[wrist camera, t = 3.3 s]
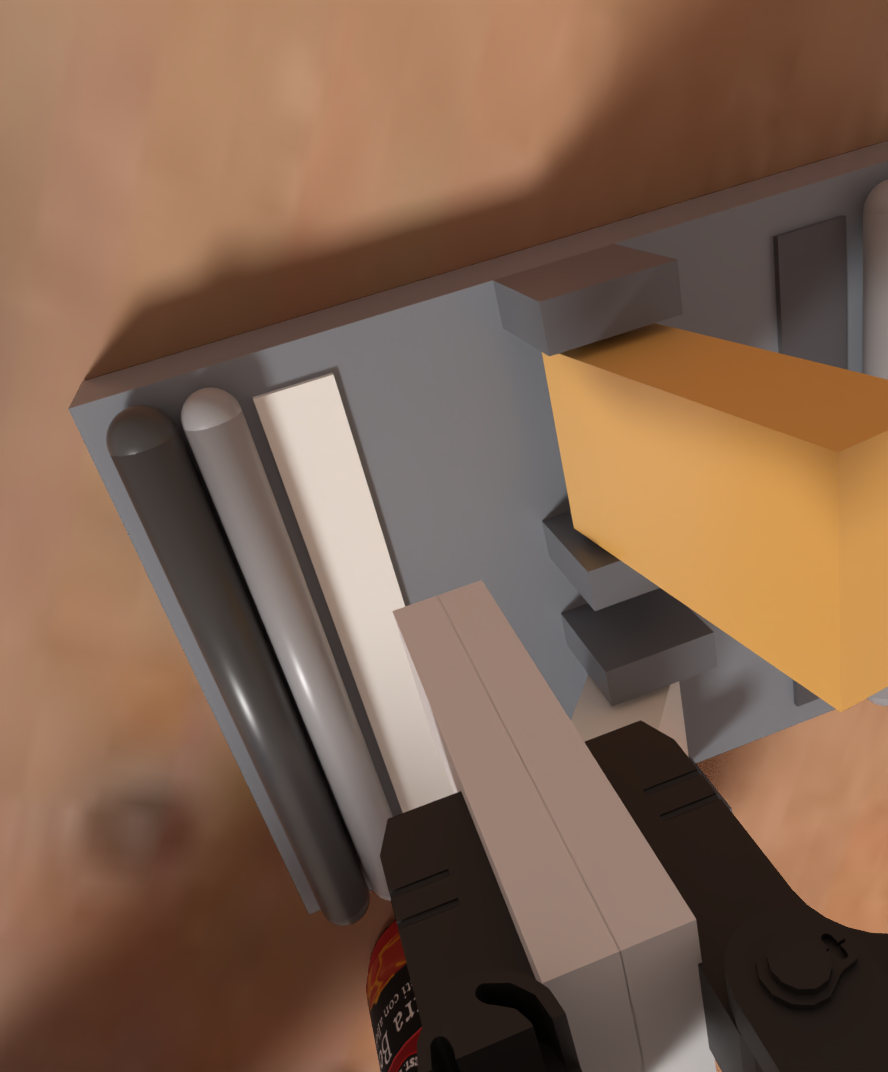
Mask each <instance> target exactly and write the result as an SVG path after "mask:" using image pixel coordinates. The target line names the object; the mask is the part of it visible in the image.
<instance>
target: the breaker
mask: <svg viewBox="0 0 888 1072" xmlns="http://www.w3.org/2000/svg"><path fill="white" fill-rule="evenodd" d="M640 720H641V721H643V722H645V723H647V724H648V725H650V726H652V727H653V728H655V729H657V730H659V731H660V732H662V733H664V734H666V735H667V736H669V737H671V738H673V739H674V740H675V741H676V742H677V743H678V745H679V746H680V747H681V748H682V750H683V751H684V752H685V754H686V755H687V756H688V748H687V740H686V732H685V724H684V716H683V708H682V701H681V693H680V685H679V681H678V682H676V683H673V684H671V685H668V686H665V687H663V688H660V689H657V690H655V691H652V692H649V693H647V694H644V695H641V696H639V697H636V698H633V699H631V700H628V701H625V702H623V703H620V704H617V705H615V706H611V705H610V703H609V702H608V700H607V699H606V698H605V696H604V695H603V694H602V692H601V691H600V689H599V688H598V687H597V685H596V684H595V683H594V681H593V680H592V678H591V677H590V676H589V674H588V677H587V679H586V682H585V684H584V687H583V690H582V692H581V695H580V698H579V700H578V703H577V705H576V708H575V711H574V713H573V716H572V719H571V722H572V724H573V725H574V727H575V728H576V730H577V731H578V733H579V735H580V736H581V738H582V739H583V741H584V742H585V741H587V740H590V739H593V738H595V737H598V736H601V735H603V734H606V733H608V732H611V731H614V730H616V729H619V728H622V727H624V726H627V725H629V724H632V723H635V722H637V721H640ZM688 757H689V756H688Z"/></svg>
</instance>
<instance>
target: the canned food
mask: <svg viewBox="0 0 888 1072" xmlns="http://www.w3.org/2000/svg"><path fill="white" fill-rule="evenodd" d="M398 930H399V929H398V925H397V923H396V920H395V921H394V922H393V923H392V924H391V925H390V926H389V927H388V928H387V929H386V930H385V932H384V933H383V935H382V936H381V937H380V939H379V940H378V942H377V943H376V945H375V948H374V950H373V952H372V955H371V957H370V963H369V970H368V978H367V986H366V992H367V1000H368V1006H369V1012H370V1017H371V1022H372V1028H373V1033H374V1038H375V1044H376V1049H377V1054H378V1060H379V1065H380V1070H381V1072H418V1065H417V1041H418V1038H419V1035H420V1032H421V1029H422V1023H421V1019H420V1015H419V1011H418V1007H417V1003H416V999H415V995H414V991H413V987H412V983H411V979H410V975H409V971H408V967H407V963H406V959H405V955H404V951H403V947H402V943H401V939H400V935H399V931H398Z"/></svg>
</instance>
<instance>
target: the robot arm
mask: <svg viewBox="0 0 888 1072" xmlns="http://www.w3.org/2000/svg"><path fill="white" fill-rule="evenodd" d="M393 615H394V618H395V621H396V624H397V627H398V630H399V633H400V637H401V640H402V643H403V646H404V649H405V652H406V655H407V659H408V662H409V665H410V668H411V671H412V674H413V677H414V681H415V684H416V687H417V690H418V693H419V696H420V699H421V703H422V706H423V709H424V712H425V715H426V718H427V721H428V725H429V728H430V731H431V734H432V737H433V740H434V743H435V745H436V748H437V750H438V753H439V756H440V758H441V761H442V763H443V766H444V769H445V771H446V774H447V776H448V779H449V782H450V784H451V787H452V789H453V792H454V794H452V795H449V796H447V797H444V798H441V799H439V800H436V801H433V802H431V803H428V804H426V805H423V806H420V807H418V808H415V809H412V810H410V811H407V812H404V813H402V814H399V815H397V816H394V817H391V818H389V819H388V820H387V824H386V829H385V834H384V838H383V843H382V848H381V853H380V858H381V863H382V867H383V871H384V875H385V879H386V883H387V887H388V891H389V894H390V897H391V903H392V907H393V911H394V915H395V919H396V923H397V925H398V929H399V930H398V931H399V935H400V939H401V943H402V947H403V951H404V955H405V959H406V963H407V967H408V971H409V975H410V979H411V983H412V987H413V991H414V995H415V999H416V1003H417V1007H418V1011H419V1015H420V1019H421V1023H422V1029H421V1032H420V1035H419V1038H418V1041H417V1065H418V1072H716V1065H715V1060H716V1061H717V1063H718V1065H719V1067H720V1069H721V1070H722V1072H888V934H883V933H869V932H865V931H861V930H857V929H852V928H848V927H846V926H844V925H841V924H839V923H837V922H834V921H832V920H830V919H828V918H826V917H824V916H823V915H821V914H820V913H818V912H817V911H815V910H814V909H812V908H811V907H809V906H808V905H807V904H806V903H805V902H804V901H803V900H802V899H801V898H800V897H799V896H798V895H797V894H796V893H795V892H794V891H793V890H792V889H791V887H790V886H789V885H788V884H787V882H786V881H785V880H784V879H783V877H782V876H781V875H780V873H779V872H778V871H777V870H776V868H775V867H774V866H773V865H772V863H771V862H770V861H769V859H768V858H767V857H766V856H765V854H764V853H763V852H762V850H761V849H760V848H759V847H758V845H757V844H756V843H755V842H754V840H753V839H752V838H751V836H750V835H749V834H748V833H747V831H746V830H745V829H744V828H743V826H742V825H741V824H740V822H739V821H738V820H737V819H736V817H735V816H734V815H733V813H732V812H731V811H730V810H729V808H728V807H727V806H726V805H725V803H724V802H723V801H722V799H719V798H718V797H717V794H716V792H715V791H714V789H713V788H712V787H711V785H710V784H709V783H708V782H707V780H706V779H705V778H704V776H703V775H702V774H701V775H700V774H699V772H698V769H697V768H696V766H695V765H694V764H693V762H692V761H691V760H690V759H689V757H688V756H687V755H686V754H685V752H684V751H683V750H682V748H681V747H680V746H679V745H678V743H677V742H676V741H675V740H674V739H673V738H671V737H669V736H667V735H666V734H664V733H662V732H660V731H659V730H657V729H655V728H653V727H652V726H650V725H648V724H647V723H645V722H643V721H641V720H640V721H637V722H635V723H632V724H629V725H627V726H624V727H622V728H619V729H616V730H614V731H611V732H608V733H606V734H603V735H601V736H598V737H595V738H593V739H590V740H587V741H585V742H584V741H583V739H582V738H581V736H580V735H579V733H578V731H577V730H576V728H575V727H574V725H573V724H572V722H571V720H570V719H569V717H568V716H567V714H566V712H565V711H564V709H563V708H562V706H561V705H560V703H559V701H558V700H557V698H556V697H555V695H554V693H553V692H552V690H551V689H550V687H549V686H548V684H547V682H546V681H545V679H544V678H543V676H542V674H541V673H540V671H539V670H538V668H537V667H536V665H535V663H534V662H533V660H532V659H531V657H530V655H529V654H528V652H527V651H526V649H525V648H524V646H523V644H522V643H521V641H520V640H519V638H518V636H517V635H516V633H515V632H514V630H513V629H512V627H511V625H510V624H509V622H508V621H507V619H506V617H505V616H504V614H503V613H502V611H501V610H500V608H499V606H498V605H497V603H496V602H495V600H494V598H493V597H492V595H491V594H490V592H489V591H488V589H487V587H486V586H485V584H484V583H483V581H482V580H480V581H477V582H474V583H472V584H469V585H466V586H463V587H460V588H457V589H454V590H451V591H449V592H446V593H443V594H440V595H437V596H434V597H431V598H428V599H426V600H423V601H420V602H417V603H414V604H411V605H408V606H406V607H403V608H400V609H397V610H394V611H393Z"/></svg>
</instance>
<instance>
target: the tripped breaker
mask: <svg viewBox="0 0 888 1072" xmlns="http://www.w3.org/2000/svg"><path fill="white" fill-rule="evenodd" d="M542 356H543V362H544V367H545V373H546V378H547V383H548V389H549V394H550V400H551V405H552V411H553V416H554V422H555V427H556V433H557V438H558V444H559V449H560V455H561V460H562V465H563V471H564V476H565V482H566V487H567V493H568V498H569V504H570V509H571V515H572V520H573V526H574V529H576V530H577V531H579V532H580V533H582V534H583V535H585V536H586V537H587V538H589V539H590V540H592V541H593V542H595V543H596V544H598V545H599V546H600V547H602V548H603V549H605V550H606V551H608V552H609V553H611V554H612V555H614V556H615V557H616V558H618V559H619V560H621V561H622V562H624V563H625V564H627V565H628V566H629V567H631V568H632V569H634V570H635V571H637V572H638V573H640V574H641V575H642V576H644V577H645V578H647V579H648V580H650V581H651V582H653V583H654V584H656V585H657V586H658V587H660V588H661V589H663V590H664V591H666V592H667V593H669V594H670V595H671V596H673V597H674V598H676V599H677V600H679V601H680V602H682V603H683V604H685V605H686V606H687V607H689V608H690V609H692V610H693V611H695V612H696V613H698V614H699V615H700V616H702V617H703V618H705V619H706V620H708V621H709V622H711V623H712V624H713V625H715V626H716V627H718V628H719V629H721V630H722V631H724V632H725V633H727V634H728V635H729V636H731V637H732V638H734V639H735V640H737V641H738V642H740V643H741V644H742V645H744V646H745V647H747V648H748V649H750V650H751V651H753V652H754V653H756V654H757V655H758V656H760V657H761V658H763V659H764V660H766V661H767V662H769V663H770V664H771V665H773V666H774V667H776V668H777V669H779V670H780V671H782V672H783V673H784V674H786V675H787V676H789V677H790V678H792V679H793V680H795V681H796V682H798V683H799V684H800V685H802V686H803V687H805V688H806V689H808V690H809V691H811V692H812V693H813V694H815V695H816V696H818V697H819V698H821V699H822V700H824V701H825V702H826V703H828V704H829V705H831V706H832V707H834V708H835V709H837V710H838V711H840V712H842V711H844V710H846V709H848V708H850V707H851V706H853V705H855V704H857V703H859V702H861V701H862V700H864V699H866V698H868V697H870V696H872V695H873V694H875V693H877V692H879V691H881V690H883V689H884V688H886V687H888V380H887V379H883V378H879V377H875V376H871V375H867V374H863V373H859V372H854V371H850V370H846V369H842V368H838V367H834V366H830V365H826V364H822V363H817V362H813V361H809V360H805V359H801V358H797V357H793V356H789V355H785V354H780V353H776V352H772V351H768V350H764V349H760V348H756V347H752V346H748V345H743V344H739V343H735V342H731V341H727V340H723V339H719V338H715V337H711V336H706V335H702V334H698V333H694V332H690V331H686V330H682V329H678V328H674V327H669V326H665V325H661V324H657V323H653V324H650V325H647V326H644V327H641V328H638V329H634V330H631V331H628V332H625V333H622V334H619V335H616V336H612V337H609V338H606V339H603V340H600V341H597V342H593V343H590V344H587V345H584V346H581V347H578V348H575V349H571V350H568V351H565V352H562V353H559V354H556V355H552V356H548V355H546V354H544V353H543V352H542Z"/></svg>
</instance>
